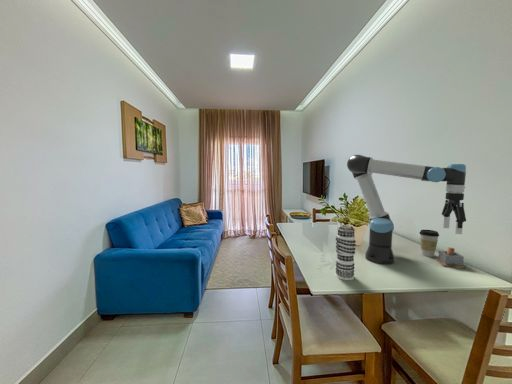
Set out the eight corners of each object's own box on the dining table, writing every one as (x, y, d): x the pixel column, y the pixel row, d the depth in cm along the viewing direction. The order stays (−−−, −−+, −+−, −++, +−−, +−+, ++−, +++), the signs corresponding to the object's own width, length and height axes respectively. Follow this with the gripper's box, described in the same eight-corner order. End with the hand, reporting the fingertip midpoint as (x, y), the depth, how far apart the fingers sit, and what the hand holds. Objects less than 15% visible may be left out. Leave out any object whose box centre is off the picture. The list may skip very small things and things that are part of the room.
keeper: (443, 266, 125) (444, 250, 124) (435, 259, 135) (436, 244, 134) (465, 268, 122) (467, 252, 121) (456, 261, 132) (457, 246, 131)
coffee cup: (441, 258, 137) (443, 233, 136) (422, 257, 139) (424, 232, 138) (432, 252, 146) (433, 229, 145) (415, 251, 148) (416, 228, 147)
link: (445, 264, 126) (445, 255, 125) (438, 259, 133) (439, 250, 133) (463, 265, 123) (463, 256, 123) (455, 260, 131) (455, 251, 131)
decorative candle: (331, 276, 113) (332, 226, 111) (339, 270, 120) (341, 223, 118) (349, 282, 107) (351, 229, 105) (357, 276, 113) (359, 226, 111)
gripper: (477, 194, 112) (473, 237, 114) (451, 191, 136) (448, 226, 138) (458, 194, 114) (455, 236, 116) (436, 190, 138) (434, 225, 140)
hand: (451, 230), depth 127 cm, fingers open, 13 cm apart
